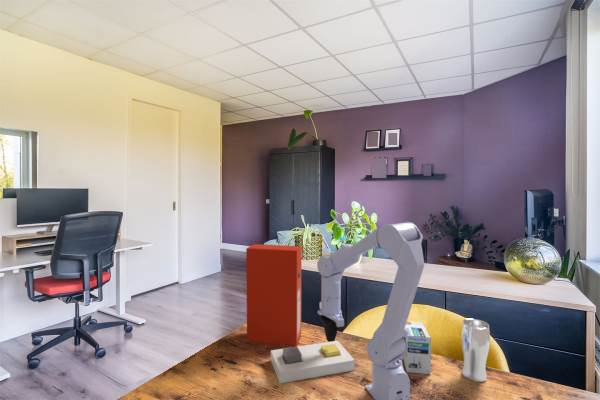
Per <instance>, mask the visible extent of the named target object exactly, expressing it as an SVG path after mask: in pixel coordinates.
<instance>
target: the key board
mask: <svg viewBox="0 0 600 400" xmlns="http://www.w3.org/2000/svg"><path fill="white" fill-rule="evenodd" d="M330 344H335V345H336V347H337V348H338V349H339V350H340V356H334V357H328V358H325V357H324V355H323V354H322V352H321V346H324V345H330ZM292 347H293V346H290V348H292ZM297 347H298V349H299V351H300V353H301V362H298V363H291V364H285V362H284V360H283V349H285V347H284V348H279V349H273V350H272V349H271V350H270V362H271V364H272V367H273V370H274V373H275V374H276V377H277V380H278V382H279V384H285V383H291V382H295V381H296V382H297V381H301V380H308V379H313V378H318V377H319V378H320V377H323V376H330V375H335V374H341V373H346V372H347V373H348V372H352V371H353V372H354V371H355V364H356V363H355V359H354V358H353V357H352V356H351V354H350V353H349V352H348V351H347V349H346V348H345V347H344V346H343V345H342V344H341V343H340V342H339V340H335V341H332V342H328V341H325V342H320V343H312V344H305V345H299V346H298V345H297Z"/></svg>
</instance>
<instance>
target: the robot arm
mask: <svg viewBox="0 0 600 400" xmlns="http://www.w3.org/2000/svg"><path fill="white" fill-rule="evenodd" d="M423 238H424V236H423V234H422V233H421V231H420V230H419V228H418V227H417V225H416V224H415V223H413V222H411V221H405V222H401V223H392V224H391V223H390V224H389V223H388V224H387V223H386V224H383V225H381V226H380V227H378V228H374V230H373V231H371V232H370V233H368V234H367V235H366V236H365V237H363V238H361V239H360V240H359V241H357V242H356V243H354V244H351V243H341V245H340V246H339V247H340V248H337V250H334V251H330V253H329V255H328V256H327V255H326V256H323V255H322V256H321V257H320V258H319V259H318V261H317V265H316V267H317V270H318V272H319V275H321V289H320V290H321V299H320V300H321V301H319V310H317V314H318V315H319V319H320V321H321V323H322V325H323V329H324V334H325V338H326V342H332V341H336V337H337V333H338V331H339V328H340V327H344V326H345V319H344V318H343V315H342V313H343V312H342V309H341V304H342V302H341V300H342V299H341V293H342V292H341V291H342V289H341V286H342V285H341V282H342V279H343V273H344V272H345V270H346V269H348V268H350V267H352V266H353V265H356V264H358V262H359V261H360V256H362V255H364V254H366V253H368V252H369V251H371V250H373V249H376V248H381V249H382V250H383V251H384V252H385V253H386V254H387V255H388V256H389V258H391V259H392V260H393V262H394V263H396V265H397V271H396V273H395V277H394V280H393V284H392V287H391V291H390V293H389V298H388V301H387V305H386V307H385V311H384V315H383V318H382V321H381V323H380V325H379V326H378V327H377V328H376V330H375V331H374V332H373V336H372V337H371V338H370V339H369V340H368V341H367V343H366V352H367V355H368V358H369V359H370V360H371V363H372V364H371V365H372V368H371V369H372V370H371V371H372V372H371V373H372V376H371V377H372V378H371V380H372V381H371V383H370V384H367V385H365V389H366V390H367V391H368V393H369V394H370V395H371V397H373V399H374V400H411V380H410V376H409V375H408V374H407V372H406V371H405V370H404V369H405V368H404V367H403V353H404V352H406V350H407V348H408V343H407V335H408V331H407V330H406V329H405V325H406V322H407V321H408V319H409V315H410V312H411V309H412V306H413V303H414V299H415V296H416V293H417V290H418V287H419V285H420V284H419V283H420V282H421V277H422V274H423V272H424V268H425V260H424V252H423V248H422V247H423V246H422V242H423Z"/></svg>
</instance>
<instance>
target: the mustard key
mask: <svg viewBox="0 0 600 400" xmlns="http://www.w3.org/2000/svg"><path fill="white" fill-rule="evenodd" d="M321 352H322V354H323V355H324V357H325V358H328V357H334V356H340V350H339V349H338V348H337V347H336V345H335V344H330V345H324V346H321Z"/></svg>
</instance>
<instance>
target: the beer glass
mask: <svg viewBox="0 0 600 400" xmlns="http://www.w3.org/2000/svg"><path fill="white" fill-rule="evenodd" d="M490 332H491V331H490V325H489V323H488V322H487V321H484V320H481V319H475V318H465V319H463V320H462V324H461V333H460V335H461V349H462V354H463V366H462V369H461V374H462V376H463V377H464V378H466V379H467V380H469V381H471V380H472V381H471V382H474V381H476V382H475V383H484V381H485V382H486V381H487V377H488V376H487V372H486V365H487V359H488V355H489V350H490V342H491V335H490V334H491V333H490Z"/></svg>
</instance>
